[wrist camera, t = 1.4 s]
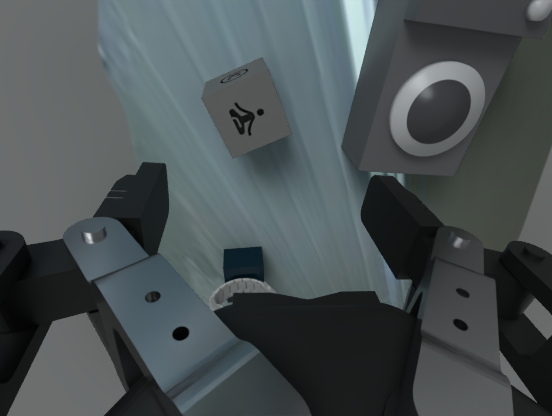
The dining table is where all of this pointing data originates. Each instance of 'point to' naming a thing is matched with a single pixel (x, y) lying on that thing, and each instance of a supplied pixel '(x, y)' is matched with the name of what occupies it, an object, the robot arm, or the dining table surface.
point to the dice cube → (246, 108)
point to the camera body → (433, 79)
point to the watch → (240, 275)
